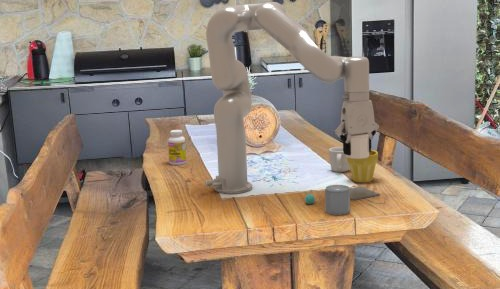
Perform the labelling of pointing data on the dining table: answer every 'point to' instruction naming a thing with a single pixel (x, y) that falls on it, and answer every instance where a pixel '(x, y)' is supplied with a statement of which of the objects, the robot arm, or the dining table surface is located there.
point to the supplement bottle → (177, 148)
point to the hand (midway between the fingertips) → (357, 152)
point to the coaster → (361, 193)
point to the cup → (338, 160)
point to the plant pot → (363, 167)
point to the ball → (309, 198)
